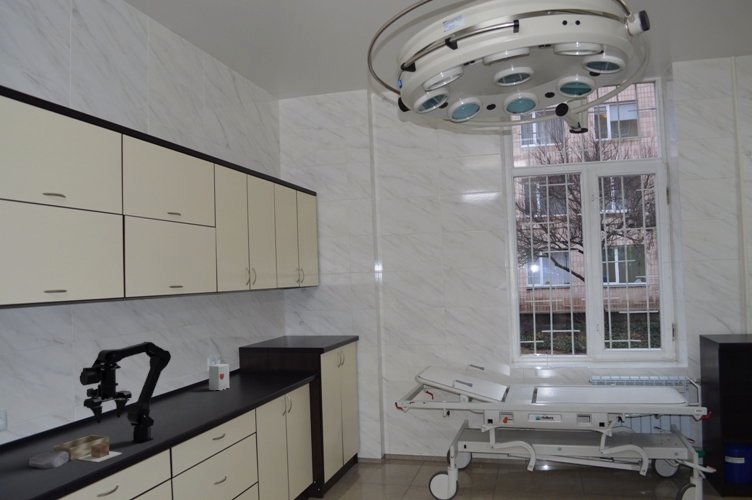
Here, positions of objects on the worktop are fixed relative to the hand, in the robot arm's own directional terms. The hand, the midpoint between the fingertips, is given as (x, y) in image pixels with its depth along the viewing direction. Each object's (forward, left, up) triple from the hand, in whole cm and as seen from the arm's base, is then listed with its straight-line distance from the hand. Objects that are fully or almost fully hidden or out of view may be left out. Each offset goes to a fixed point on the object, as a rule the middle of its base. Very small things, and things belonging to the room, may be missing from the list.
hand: (108, 420), depth 231 cm
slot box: (+6, -8, -12) cm, 16 cm away
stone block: (+21, -8, -12) cm, 25 cm away
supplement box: (-117, -44, -12) cm, 126 cm away
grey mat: (+7, +3, -12) cm, 14 cm away
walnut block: (+7, +3, -12) cm, 14 cm away
